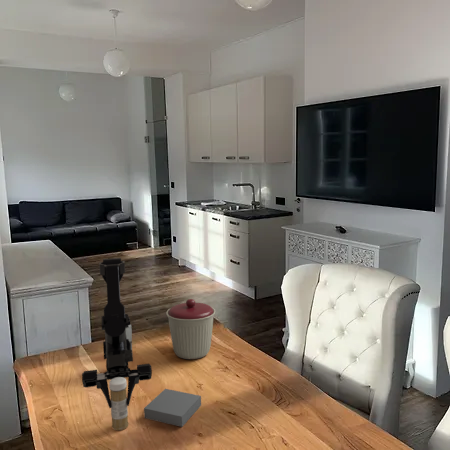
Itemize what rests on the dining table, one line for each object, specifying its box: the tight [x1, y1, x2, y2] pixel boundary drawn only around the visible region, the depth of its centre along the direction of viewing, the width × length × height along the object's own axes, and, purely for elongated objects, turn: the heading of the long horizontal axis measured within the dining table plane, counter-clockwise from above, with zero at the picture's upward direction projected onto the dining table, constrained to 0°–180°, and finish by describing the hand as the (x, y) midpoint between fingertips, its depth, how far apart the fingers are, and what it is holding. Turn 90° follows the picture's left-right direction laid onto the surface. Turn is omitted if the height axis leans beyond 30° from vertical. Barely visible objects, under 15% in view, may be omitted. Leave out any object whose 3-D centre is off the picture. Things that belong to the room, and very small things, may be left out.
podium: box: [143, 388, 202, 428], centre depth 135 cm, size 12×12×3 cm
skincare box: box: [126, 324, 133, 351], centre depth 173 cm, size 6×4×12 cm
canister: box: [165, 298, 216, 360], centre depth 174 cm, size 18×18×21 cm
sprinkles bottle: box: [108, 377, 129, 431], centre depth 127 cm, size 5×5×14 cm
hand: (119, 406), depth 126 cm, fingers closed on sprinkles bottle, 4 cm apart
